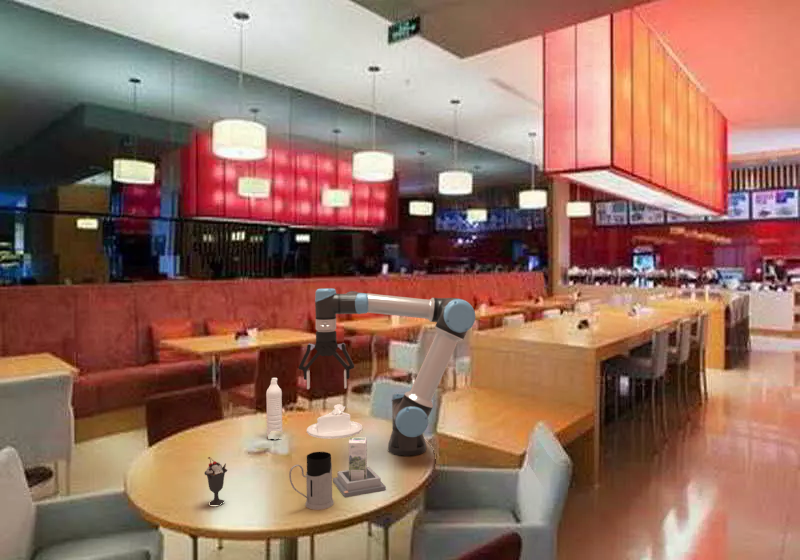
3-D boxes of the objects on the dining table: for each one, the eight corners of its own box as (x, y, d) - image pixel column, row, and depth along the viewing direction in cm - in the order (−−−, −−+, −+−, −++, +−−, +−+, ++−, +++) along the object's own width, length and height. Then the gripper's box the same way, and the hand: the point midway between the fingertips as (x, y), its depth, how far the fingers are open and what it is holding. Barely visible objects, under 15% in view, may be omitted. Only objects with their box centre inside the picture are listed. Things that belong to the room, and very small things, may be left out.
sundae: (200, 506, 172) (199, 458, 172) (215, 497, 179) (214, 451, 178) (217, 509, 170) (216, 460, 170) (231, 500, 176) (231, 453, 176)
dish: (340, 419, 268) (340, 396, 268) (373, 430, 249) (373, 405, 249) (296, 430, 251) (295, 405, 251) (328, 443, 233) (327, 416, 233)
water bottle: (281, 440, 237) (280, 381, 236) (266, 441, 236) (265, 382, 235) (283, 434, 245) (282, 377, 244) (268, 434, 244) (267, 378, 244)
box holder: (371, 475, 196) (371, 464, 196) (385, 490, 183) (385, 478, 183) (332, 481, 191) (332, 470, 191) (344, 497, 178) (344, 485, 178)
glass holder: (338, 504, 172) (338, 456, 172) (296, 517, 164) (295, 466, 164) (325, 495, 180) (324, 449, 179) (284, 506, 171) (283, 458, 171)
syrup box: (367, 478, 190) (366, 436, 189) (366, 485, 184) (365, 442, 183) (350, 479, 190) (349, 436, 189) (348, 485, 184) (348, 442, 183)
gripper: (290, 332, 201) (291, 391, 201) (359, 331, 202) (360, 389, 202) (293, 329, 208) (294, 386, 209) (360, 328, 209) (361, 385, 210)
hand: (327, 388), depth 206 cm, fingers open, 13 cm apart
